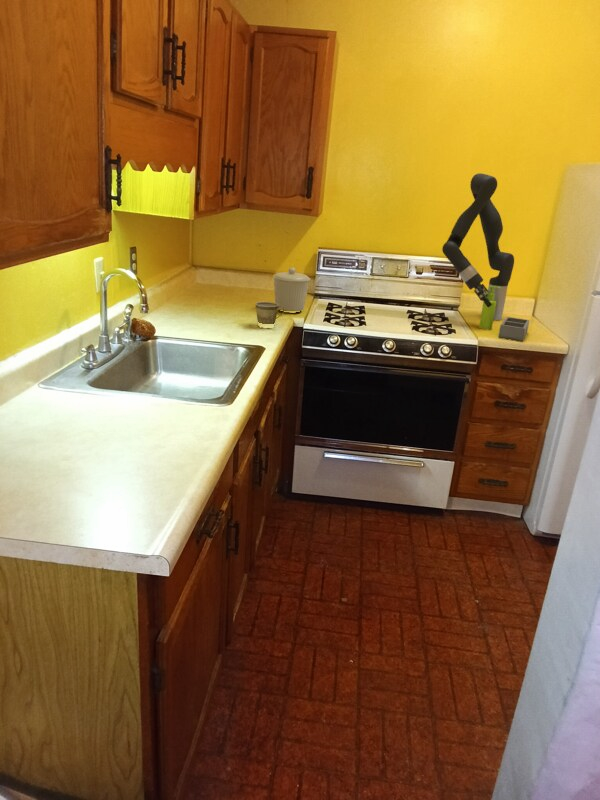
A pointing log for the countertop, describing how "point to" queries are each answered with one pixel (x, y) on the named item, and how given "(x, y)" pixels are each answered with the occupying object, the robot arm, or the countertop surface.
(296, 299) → the canister
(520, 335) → the caddy
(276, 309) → the ceramic cup
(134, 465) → the countertop surface
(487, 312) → the soap dispenser
